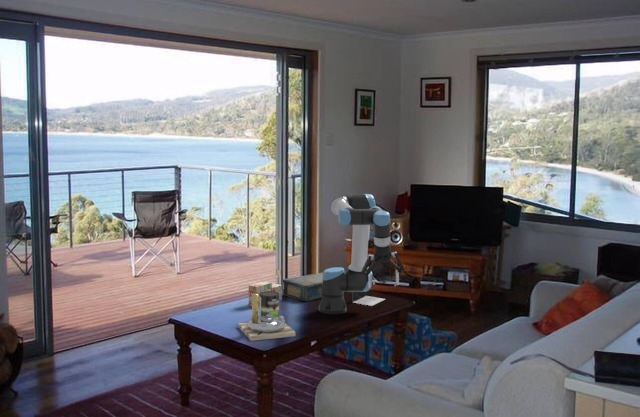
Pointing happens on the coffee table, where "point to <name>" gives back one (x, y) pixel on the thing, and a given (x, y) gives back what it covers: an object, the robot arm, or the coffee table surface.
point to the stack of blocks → (263, 290)
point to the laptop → (365, 299)
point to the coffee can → (269, 303)
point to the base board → (261, 336)
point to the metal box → (304, 287)
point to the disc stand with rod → (264, 320)
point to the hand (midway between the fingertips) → (383, 285)
